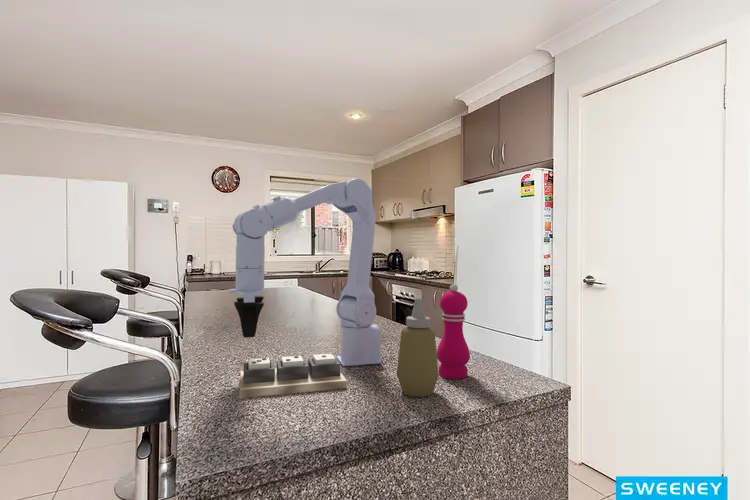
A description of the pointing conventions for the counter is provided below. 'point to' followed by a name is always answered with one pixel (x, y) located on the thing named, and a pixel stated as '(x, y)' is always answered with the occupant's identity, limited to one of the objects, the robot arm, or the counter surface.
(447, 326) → the pepper mill
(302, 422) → the counter surface
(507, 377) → the counter surface
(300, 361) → the tile two
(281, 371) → the tile board
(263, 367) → the tile three
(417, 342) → the squeeze bottle
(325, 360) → the tile one
